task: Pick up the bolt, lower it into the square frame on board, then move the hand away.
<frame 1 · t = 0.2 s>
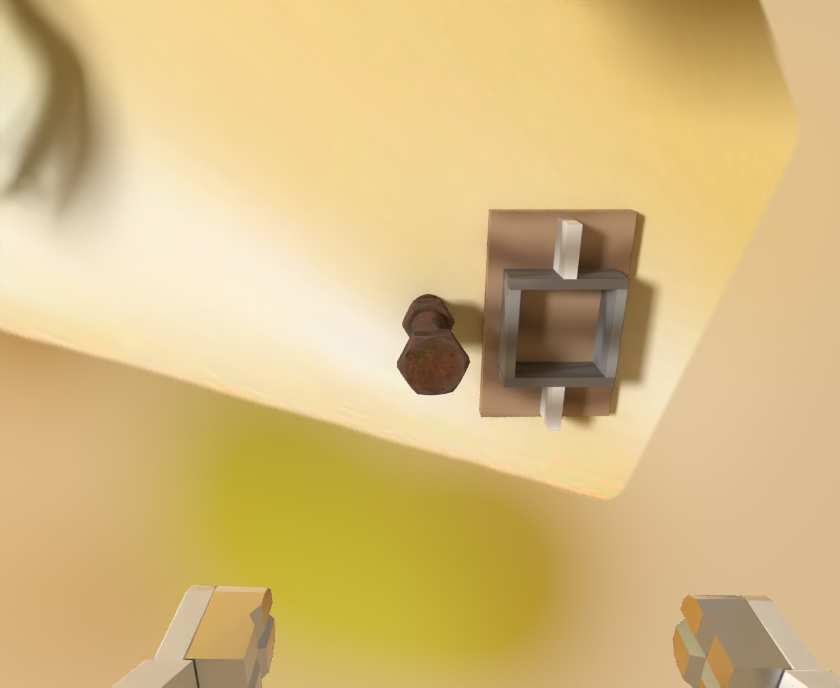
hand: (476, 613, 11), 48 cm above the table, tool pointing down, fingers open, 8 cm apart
bolt: (426, 307, 59), on the table
square frame on board: (550, 316, 60), on the table
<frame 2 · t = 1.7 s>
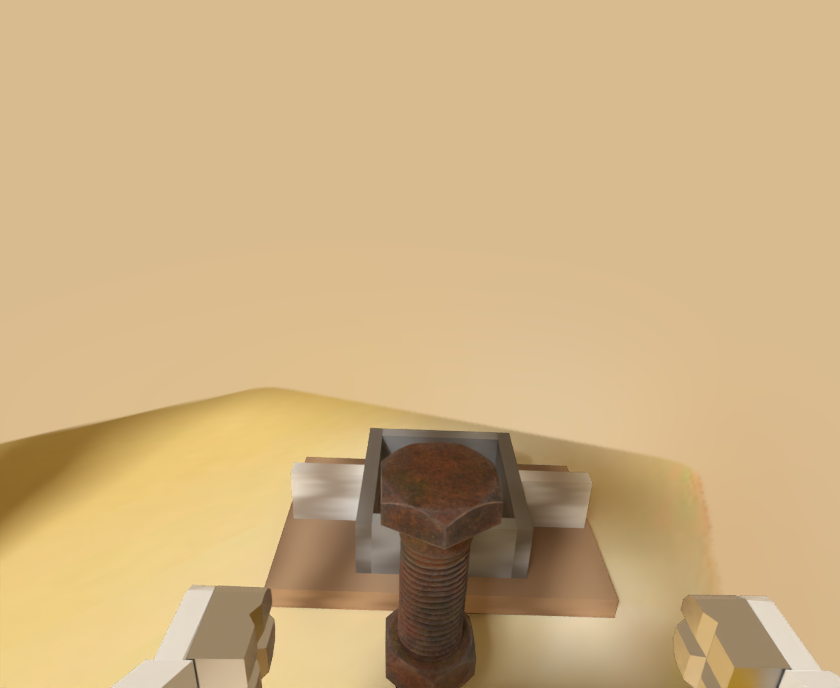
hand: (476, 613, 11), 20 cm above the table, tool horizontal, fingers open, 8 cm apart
square frame on board: (437, 533, 42), on the table
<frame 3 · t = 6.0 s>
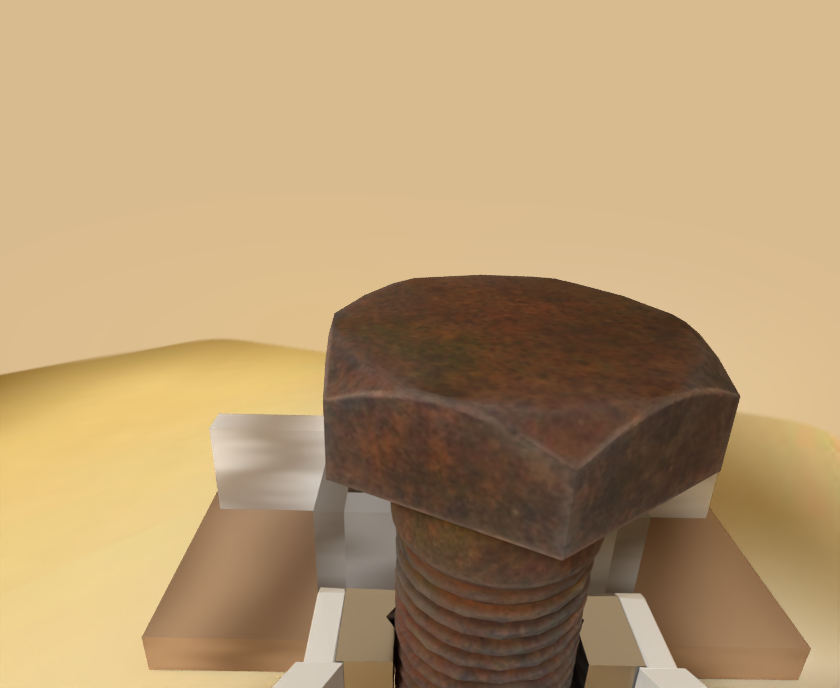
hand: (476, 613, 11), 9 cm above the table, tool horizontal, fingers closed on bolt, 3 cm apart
square frame on board: (461, 531, 26), on the table
when the fingers open (11 cm above the table, at t = 12.5 s): bolt stays where it is, resting on square frame on board.
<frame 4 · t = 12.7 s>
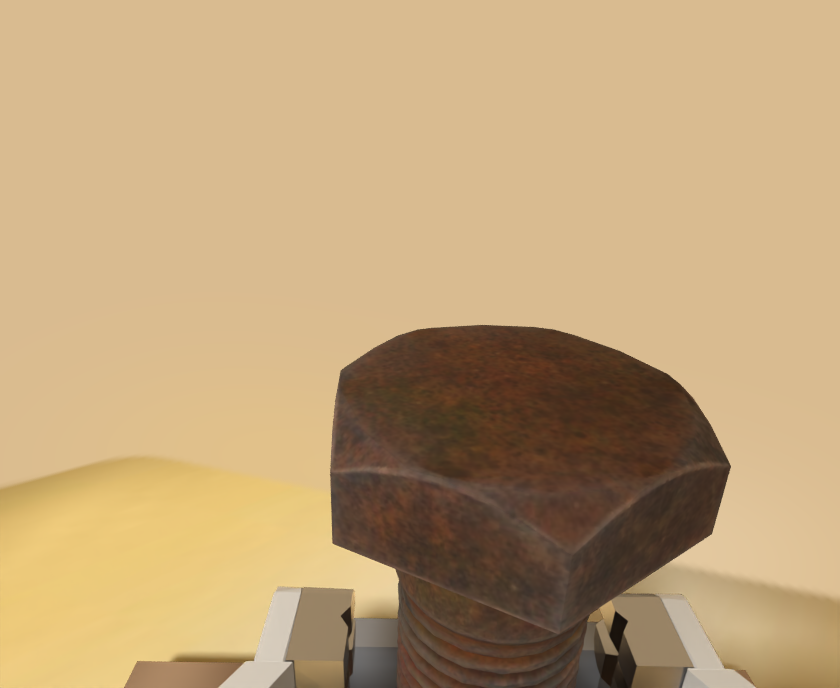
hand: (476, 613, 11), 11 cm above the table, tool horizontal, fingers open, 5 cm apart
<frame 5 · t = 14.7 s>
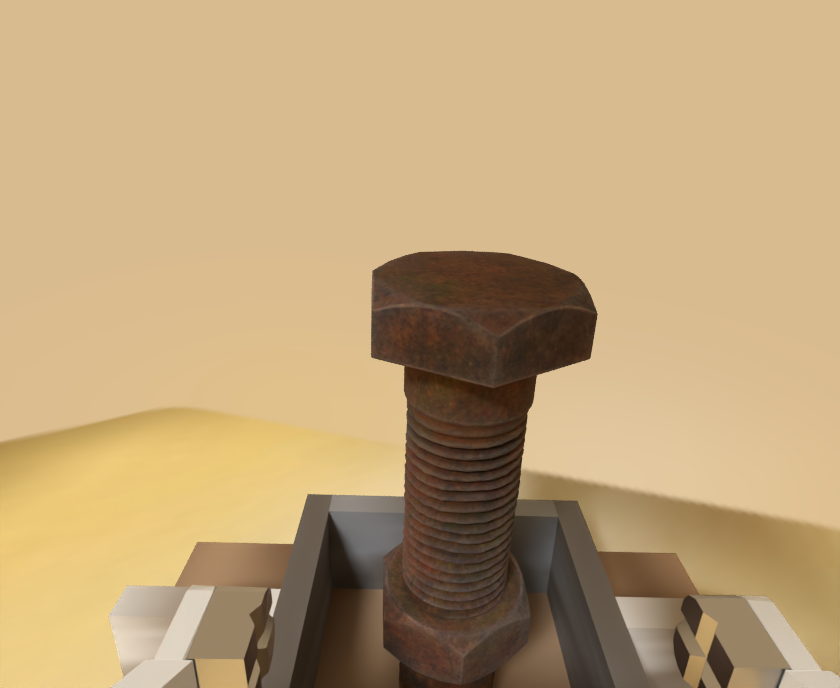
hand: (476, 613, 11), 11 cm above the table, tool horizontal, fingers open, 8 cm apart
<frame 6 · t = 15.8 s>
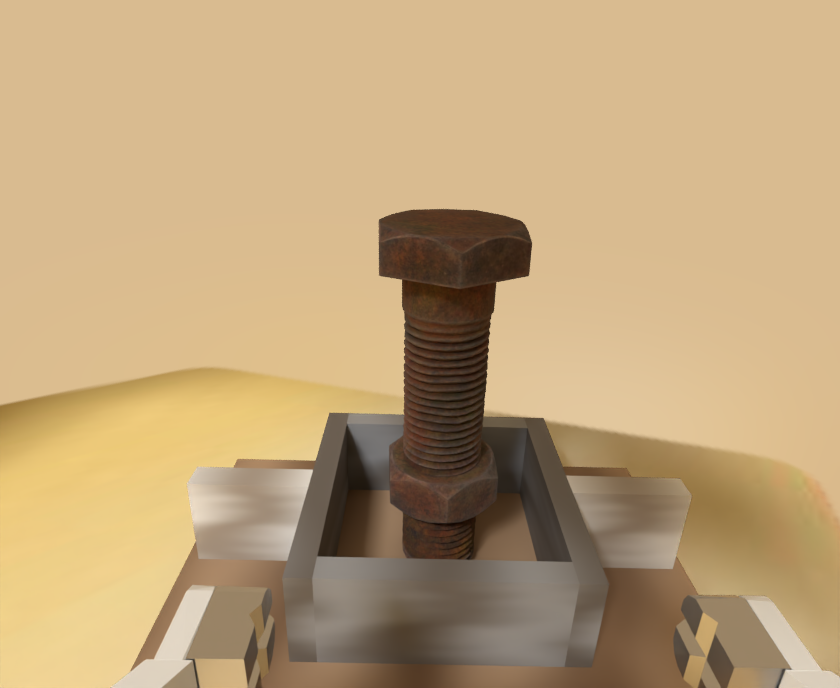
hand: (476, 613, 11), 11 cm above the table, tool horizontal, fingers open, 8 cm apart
bolt: (437, 558, 26), point 1 cm above the table, touching square frame on board
square frame on board: (435, 579, 26), on the table
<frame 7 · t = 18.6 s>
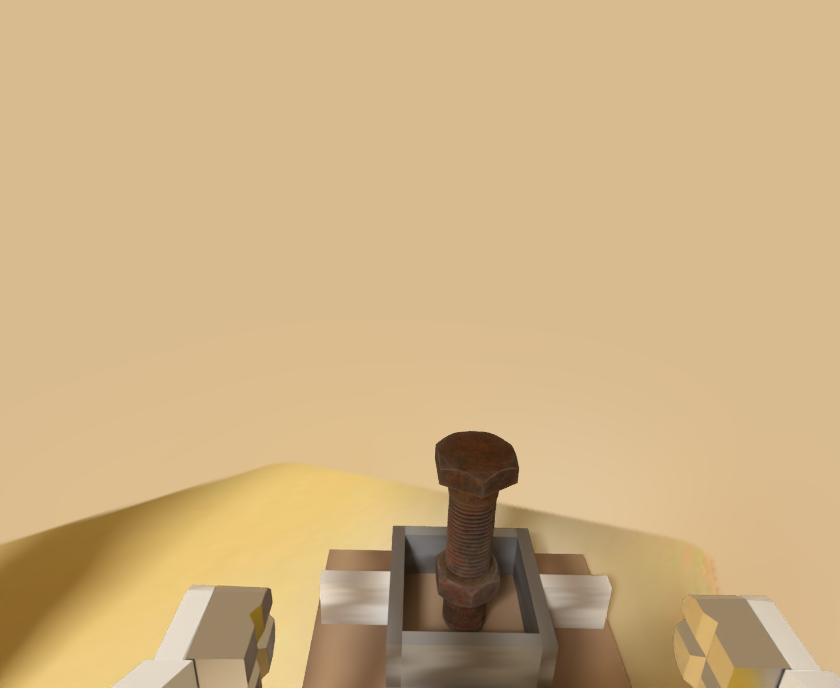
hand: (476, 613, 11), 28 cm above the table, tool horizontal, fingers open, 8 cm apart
bolt: (462, 622, 43), point 1 cm above the table, touching square frame on board
square frame on board: (461, 633, 43), on the table
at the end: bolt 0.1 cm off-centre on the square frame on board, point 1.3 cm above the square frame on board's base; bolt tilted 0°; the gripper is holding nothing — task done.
